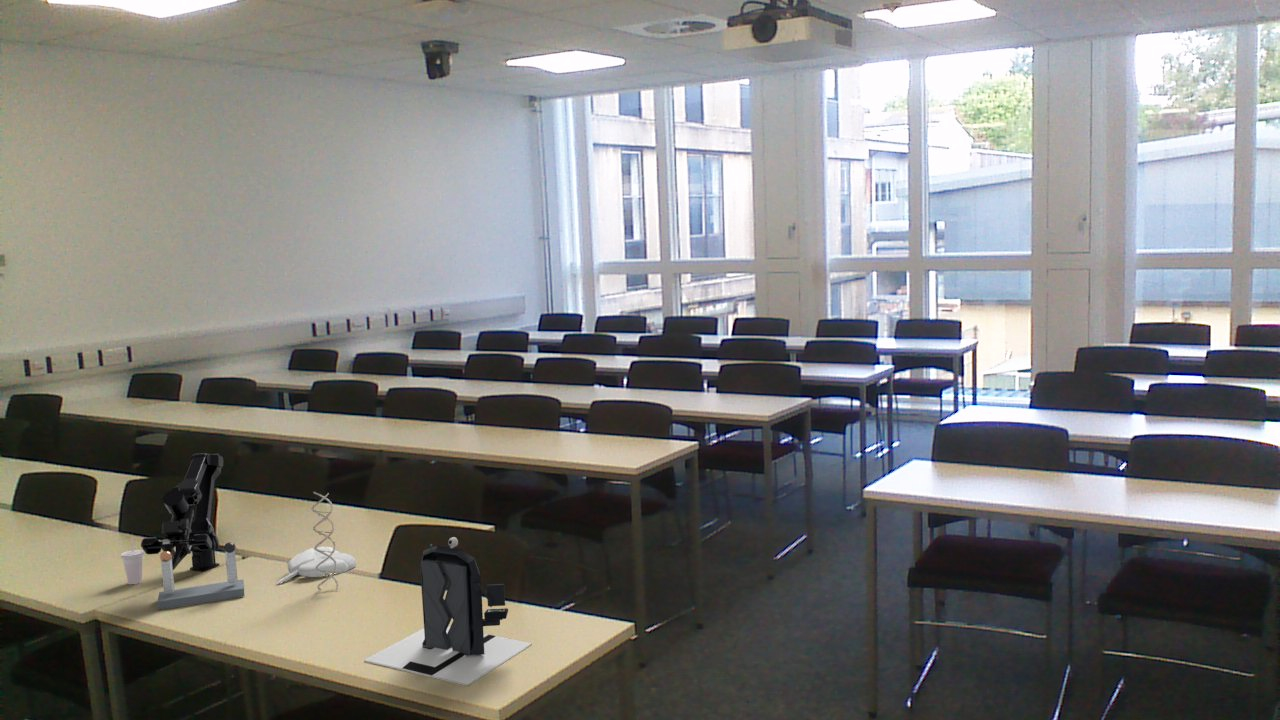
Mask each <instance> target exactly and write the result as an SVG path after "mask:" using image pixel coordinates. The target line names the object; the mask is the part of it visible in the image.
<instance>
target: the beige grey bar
mask: <svg viewBox="0 0 1280 720" xmlns="http://www.w3.org/2000/svg"><path fill="white" fill-rule="evenodd" d="M236 548H237V547H236V545H235V543H234V542H227V543H225V544H224V546H223V550H224V553H225V554H224V555H225V566H226V568H225V569H226V578H227V582H228V583H229V584H231V583H235V582H238V580H239V579H238V570H237V568H238V567H237V562H236V560H237V559H236Z"/></svg>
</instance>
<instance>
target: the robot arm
mask: <svg viewBox="0 0 1280 720" xmlns="http://www.w3.org/2000/svg"><path fill="white" fill-rule="evenodd" d="M190 459H191V462H190V464H189V467H188V470H187V472H186V474H185V476H184V480H182V481H181V482H179V483H177V485H176V486H174V487H173V486H172V487H171V490H169V491H167V492H166V493H165V494H164V495H163V497H162V502H163V504H164V506H165V508H166V509H167V511H168V512H169V514H171V515H172V516H171V520H170V521H162V525H161V534H164V539H162V540H161V541H160V540H159V539H158V537H157V536H152V537H144V538H142V540H141V542H140V547H141V549H142V550H143V551H144V554H146V555H149V556H150V555H158V554H159V553H162V552H164V551H169V552H171V554H172V568H173V571H174V570H175V569H176V568H177V567H178V566H179V564H180V563H181V561H183V559H184V558H186V556H187V555H190V554H191V565H192V566H191V567H189V570H190V571H191V570H194V571H200V572H206V571H208V570H211V569H214V568H216V567H218V566H220V563H219V562H218V563H217V562H216V552H215V550H217V549H220V545H219V544H220V540H219V537H218V535H217V534H216V532H215V528H214V527H213V525H212V523H211V515H212V506H213V505H212V504H213V498H214V488H215V482H216V480H217V478H218V477H219V476H220V475H221V473H222V468H223V467H224V458H223V456H221V455H220V454H219V453H207V452H203V453H201V452H200V453H199V452H198V453H194V454H192V455H191V458H190ZM192 506H195V511H194V509H193V507H192ZM193 518H194V519H193ZM161 551H162V552H161Z"/></svg>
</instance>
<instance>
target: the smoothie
mask: <svg viewBox="0 0 1280 720" xmlns="http://www.w3.org/2000/svg"><path fill="white" fill-rule="evenodd" d="M130 540H131V550H127V551H124V552H122V553H121V554H120V558H121V559H122V563H123V567H124V571H125V574H126V579H127V583H128V585H129V584H130V585H131V584H135V585H139V584H141V583H142V581H143V561H144V555H145V551H144V550H143V549H135V544H134V543H135V542H134V538H130ZM138 583H139V584H138ZM131 586H132V585H131Z"/></svg>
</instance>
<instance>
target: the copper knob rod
mask: <svg viewBox="0 0 1280 720" xmlns="http://www.w3.org/2000/svg"><path fill="white" fill-rule="evenodd" d="M159 555H160V556H159V559H160V565H161V576H162V587H163V591H164V593H171V592H174V591H175V590H176V589H175V580H174V579H175V578H174V570H173V568H172V554H171V552H169V551H164V552H163V551H162V552H160V554H159Z"/></svg>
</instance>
